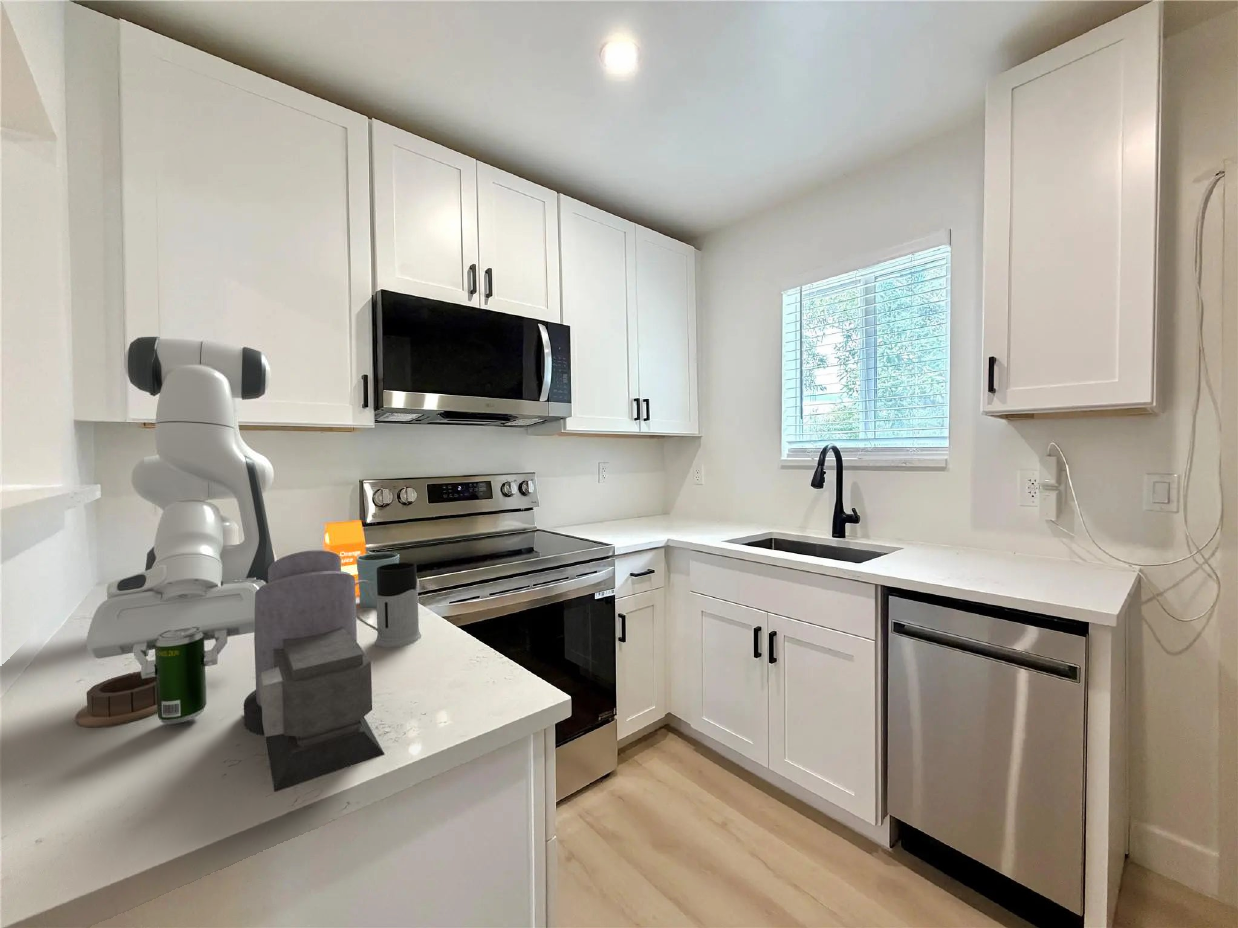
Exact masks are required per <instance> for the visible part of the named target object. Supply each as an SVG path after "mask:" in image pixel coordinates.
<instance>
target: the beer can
mask: <svg viewBox="0 0 1238 928" xmlns="http://www.w3.org/2000/svg"><path fill="white" fill-rule="evenodd" d="M204 651H206V650H205V641H204V634H203V633H202V628H201V627H197V626H194V627H192V628H183V629H177V630H173V631H171V630H168V631H165V632H162V633H160V634H159V635H157V641H156V643H155V649H154V656H155V657H154V660H155V662H156V690H157V713H156V714H157V715H156V716H157V718H158V720H159V721H160V723H162V724H166V725H171V724H174V725H175V724H179V723H183V722H186V721H190V720H192V719H195V718H196V717H198V716H200V715H201V714H202V713H204V711H205V708H206V706H207V681H206V679H207V678H206V677H207V676H206V667H205V664H204V658H205V657H204Z"/></svg>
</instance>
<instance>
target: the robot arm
mask: <svg viewBox="0 0 1238 928" xmlns="http://www.w3.org/2000/svg"><path fill="white" fill-rule="evenodd" d="M123 366H124V370H125V373H126V375H127V377H128V380H129V382H130V384H132V385H133V386H134V387H135V388H136V389H138V390H140V391H142V392H145V393H149V395H150V396H152V397H155V396H157V395H158V400H157V404H156V405H157V406H156V413H155V421H154V422H155V423H154V424H155V426H154V439H155V441H154V442H155V448H156V455H150V456H144V457H143V458H142V459H140V460H139V461H138V462H137V463H136V464H135V466H134V467H133V469H132V472H131V479H130V480H131V485H132V487H133V489H134V491H135V492H136V493H137V495H139V496H140V497H141V498H142V499H144V500H145V501H147V502H150V503H152V504H153V505H155V506H156V507H158V508H159V509H160V510H162V511H163V512H162V513H161V516H160V519H159V522H158V525H157V528H156V529H157V530H156V533H155V537H154V543H153V545H154V546H152V548H151V549H150V550H149V551H148V552H147V553H146V562H145V569H144V571H142V572H139V573H136V574H132V575H130V576H126V577H122V578H119V579H116V580H113V581H111V582H110V583H108V585H107V586H106V597H107V599H105V600H104V601H102V602H101V603H100V604H99V606H98V607H97V608H96V610H95V612H94V614H93V616H92V619H91V622H90V624H89V628H88V631H87V634H86V639H85V646H86V650H87V652H89V654H90V655H91V656H92V657H93V658H96V659H97V660H98V659H105V658H110V657H117V656H122V655H129V654H133V656H134V659H135V660H136V661H137V663H138V664H139V665H140V667H141V669H140V671H141V676H142V679H143V678H149V677H154V676H156V662H155V659H152V660H148V659H147V657H148V656H149V654H150V651H152V650H155V643H156V641H157V635H159V634H160V633H162V632H165V631H168V630H171V631H173V630H177V629H183V628H192V627H194V626H197V627H201V628H202V633H203V634H204V642H205V641H212V640H214V641H215V644H214V645H213V647H212V648H211V649H207V650H205V651H204V657H205V658H204V664H205V668H206V667H211V666H216V665H218V656H219V654H220V653H221V652H222V650H224V648H225V646H226V645H227V643H228V638H229V637H230V638H231V637H235V636H242V635H247V634H253V633H254V629H255V593H256V591H257V590H258V589H259V588H260V587H261V586H263V585H265V584H267V583H268V569H269V567H270V566H271V565H272V564H273V563H274V562H275V561H277V560H278V557H277V554H276V551H275V550H274V547H273V544H272V538H271V535H270V528H269V522H268V517H267V510H266V506H265V500H264V495H263V494H265V493H266V492H267V491H268V490H269V489H270V488H271V486H272V484H273V482H274V478H275V470H274V467H273V465H272V463H271V462H270V460H269V459H268V458H267V457H265V456H264V455H263V454H260V453H258V452H257V451H254V449H251V447H249V446H248V445H247V444H246V442H245V441H244V440H243V438H242V436H241V433H240V426H239V399H241V400H242V401H243V400H244V401H245V400H253V399H254V400H255V399H259V398H260V397H262V396H264V395H265V394H266V391H267V390H268V388H269V386H270V383H271V381H272V371H271V367H270V364H269V363H268V361H267V356H265V354H264V353H262V351H259V350H257V349H254V348H251V347H248V346H243V347H240V346H235V345H231V344H227V343H222V342H216V341H209V340H202V341H201V340H195V339H184V338H183V339H182V338H181V339H180V338H160V336H141V337H137V338H135V339H134V340H133V341H131V342H130V344H129V347H127V350H126V352H125V354H124V358H123ZM229 499H230V500H231V499H236V501H237V505H238V509H239V515H240V521H241V526H242V531H243V536H244V537H243V541H242V542H240V536H239V535H240V533H239V531H240V530H239V526H238V524H237V523H236V521H234V519H232V518H230V517H228V516H225V515H222V514H221V511H220V508H219V507H218V506H217V505H216V504H214V503H212V502H209V501H210V500H211V501H212V500H214V501H215V500H229Z"/></svg>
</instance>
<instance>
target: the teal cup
mask: <svg viewBox="0 0 1238 928" xmlns="http://www.w3.org/2000/svg"><path fill="white" fill-rule="evenodd" d="M399 561H400V554H398V553H397V552H388V551H387V552H385V551H384V552H372V553H366V554H365V555H361V556H358V557H357V558H356V563H357V571H358V581H360V580H366V581H368V582H369V583H370V584H371V585H372V588H373V596H374V597H376V593H377V567H379V566H382V565H386V564H392V563H400V562H399ZM358 585H359V596H358V597H359V598H358V599H359V600H358V601H359V605H360V606H361V607H363V606H364V608H377V601H376V599H373V598H371V596H370V589H369V586H368V584H367V583H365V582H361V583H359V584H358Z"/></svg>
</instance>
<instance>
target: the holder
mask: <svg viewBox="0 0 1238 928" xmlns="http://www.w3.org/2000/svg"><path fill="white" fill-rule="evenodd" d="M418 581H419V580H418V576H417V564H416V563H414V562H399V563H392V564H386V565H382V566H379V567H377V593H376V597H374V596H373V588H372V585H371V584H370V583H369V582H368V581H366V580H360V581H357V582H355V586H356V585H357V584H359V583H361V582H365V583H367V584H368V586H369V589H370V596H371V598H373V599H376V601H377V607H376V626H377V627H376V626H374V625H372V624H370V623H368V622H367V621H365V620H364V619H363V618H362V617H360V615H359V614H358V613H357V611H356V620H358V621H359V622H360V623H363V624H364V625H366V626H368V627H370V628H371V629H373V630H375V631H377V633H376V634H377V635H376V638H375V641H374V644H375V645H376V644H377V645H376V646H378V645H379V646H378V647H382V648H383V647H384V648H393V647H394V648H395V647H401V646H400V645H402V646H406V644H407V645H410V644H413V643H415V642H417V641H419V640H420V639H421V638H422V634H421V632H420V627H419V623H420V621H419V592H418V591H419V590H418V589H419V588H418V587H419V586H418ZM418 639H419V640H418ZM412 642H413V643H412Z"/></svg>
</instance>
